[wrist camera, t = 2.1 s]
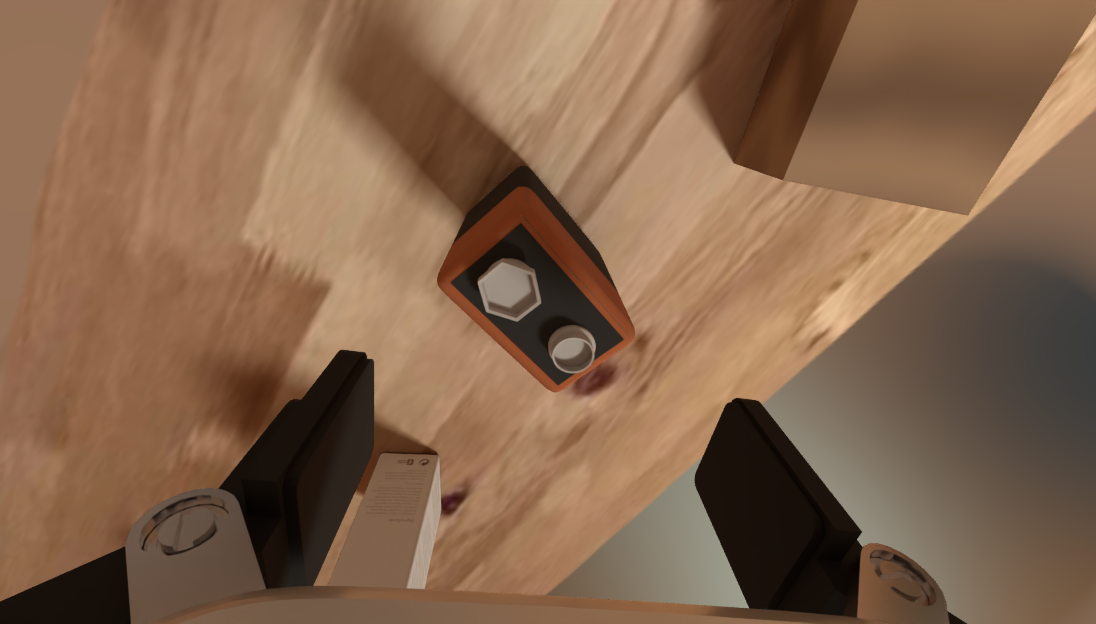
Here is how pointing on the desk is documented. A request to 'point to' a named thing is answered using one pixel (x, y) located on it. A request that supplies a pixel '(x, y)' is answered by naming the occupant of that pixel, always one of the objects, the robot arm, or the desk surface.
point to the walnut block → (906, 93)
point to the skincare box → (393, 525)
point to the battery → (535, 283)
